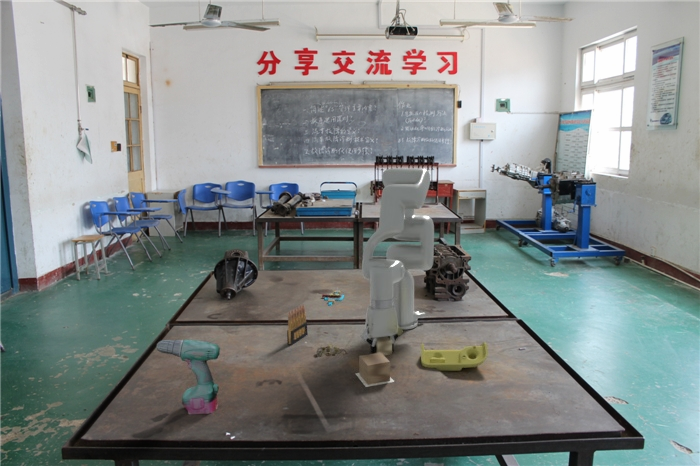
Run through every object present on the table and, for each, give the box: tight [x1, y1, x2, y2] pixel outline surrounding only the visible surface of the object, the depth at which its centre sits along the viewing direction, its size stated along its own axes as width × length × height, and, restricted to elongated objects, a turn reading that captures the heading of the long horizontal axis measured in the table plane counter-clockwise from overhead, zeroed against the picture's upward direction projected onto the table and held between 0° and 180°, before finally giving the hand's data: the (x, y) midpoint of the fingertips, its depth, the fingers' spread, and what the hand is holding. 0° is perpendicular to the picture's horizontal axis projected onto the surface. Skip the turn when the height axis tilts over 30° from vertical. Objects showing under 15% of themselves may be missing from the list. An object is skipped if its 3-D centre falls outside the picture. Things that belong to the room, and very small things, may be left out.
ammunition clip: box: [286, 303, 308, 346], centre depth 188 cm, size 11×2×12 cm, turn 153°
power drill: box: [156, 339, 221, 415], centre depth 141 cm, size 7×16×20 cm, turn 95°
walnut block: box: [358, 352, 391, 385], centre depth 156 cm, size 7×7×6 cm
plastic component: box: [420, 342, 489, 372], centre depth 166 cm, size 20×8×10 cm
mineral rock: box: [316, 344, 348, 358], centre depth 175 cm, size 11×4×8 cm
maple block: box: [376, 336, 393, 357], centre depth 174 cm, size 5×5×6 cm
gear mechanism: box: [321, 287, 345, 306], centre depth 235 cm, size 20×5×9 cm
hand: (382, 354), depth 174 cm, fingers closed on maple block, 5 cm apart
